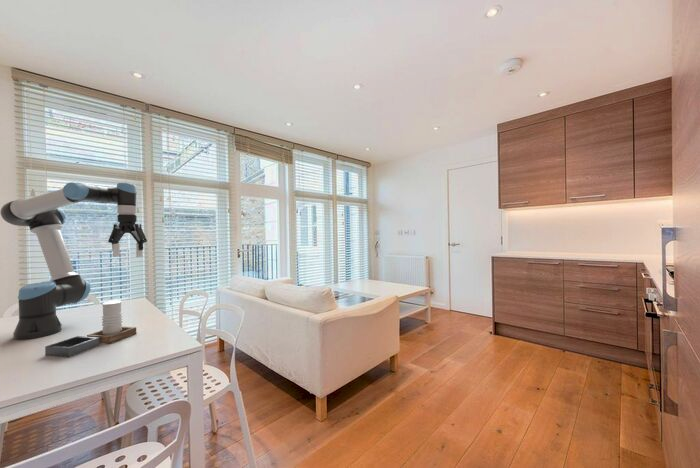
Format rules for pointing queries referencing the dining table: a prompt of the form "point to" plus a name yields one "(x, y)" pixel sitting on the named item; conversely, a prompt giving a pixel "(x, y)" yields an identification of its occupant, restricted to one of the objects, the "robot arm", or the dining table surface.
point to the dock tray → (116, 337)
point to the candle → (112, 318)
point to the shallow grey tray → (71, 346)
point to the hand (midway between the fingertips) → (127, 256)
